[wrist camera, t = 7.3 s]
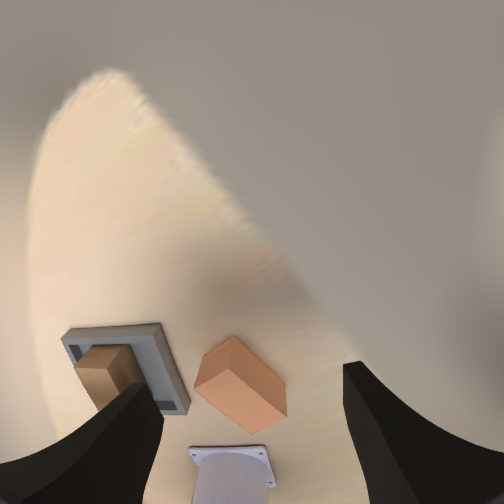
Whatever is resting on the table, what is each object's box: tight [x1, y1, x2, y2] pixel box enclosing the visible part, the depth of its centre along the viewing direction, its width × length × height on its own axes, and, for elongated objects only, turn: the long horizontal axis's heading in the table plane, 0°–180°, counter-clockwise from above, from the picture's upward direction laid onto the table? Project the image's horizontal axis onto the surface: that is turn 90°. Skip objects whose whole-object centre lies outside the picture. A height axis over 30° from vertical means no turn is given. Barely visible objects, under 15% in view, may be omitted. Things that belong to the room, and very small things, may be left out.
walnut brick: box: [73, 343, 153, 411], centre depth 20 cm, size 6×3×4 cm, turn 10°
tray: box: [61, 323, 191, 415], centre depth 21 cm, size 8×9×2 cm
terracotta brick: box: [193, 335, 287, 434], centre depth 20 cm, size 6×3×4 cm, turn 40°
